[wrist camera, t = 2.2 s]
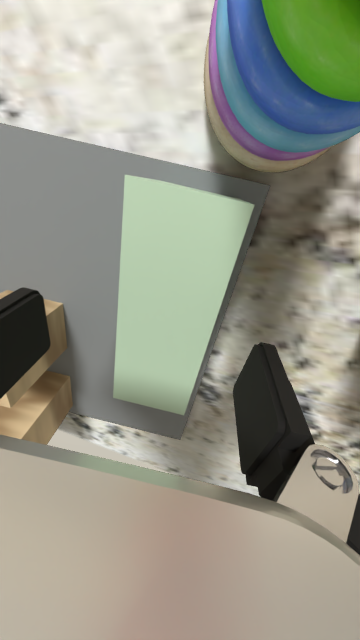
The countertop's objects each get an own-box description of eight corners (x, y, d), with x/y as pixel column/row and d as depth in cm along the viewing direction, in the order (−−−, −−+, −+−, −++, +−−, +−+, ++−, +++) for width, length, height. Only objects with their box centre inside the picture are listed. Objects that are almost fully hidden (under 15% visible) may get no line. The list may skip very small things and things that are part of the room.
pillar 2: (69, 376, 24) (21, 439, 18) (72, 405, 26) (31, 468, 20) (25, 365, 24) (-39, 423, 18) (32, 395, 26) (-21, 455, 20)
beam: (239, 199, 13) (254, 204, 8) (191, 358, 20) (184, 415, 15) (159, 180, 13) (124, 174, 8) (138, 345, 20) (113, 397, 15)
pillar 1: (62, 303, 19) (-7, 355, 13) (67, 347, 22) (10, 408, 16) (7, 289, 19) (-88, 335, 13) (18, 335, 22) (-57, 391, 16)
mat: (268, 185, 13) (270, 185, 13) (180, 435, 27) (180, 439, 27) (-80, 105, 14) (-92, 102, 13) (11, 392, 28) (7, 396, 27)
